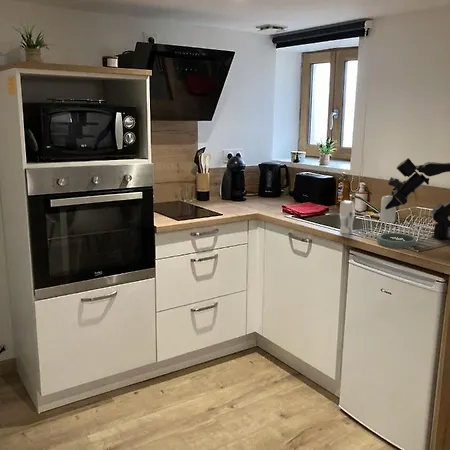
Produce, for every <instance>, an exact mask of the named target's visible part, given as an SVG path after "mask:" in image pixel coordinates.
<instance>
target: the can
mask: <svg viewBox="0 0 450 450" xmlns="http://www.w3.org/2000/svg"><path fill="white" fill-rule="evenodd" d="M392 196H393V195H391V194H384V195H382V198H381V200H380V201H381V202H380V203H381V204H380V221H381V222H382V223H386V224H387V223H388V224H389V223H390V224H391V223H394V222H395V221H396V211H397V206H396V207H393V208H390V209H387V210H386V209H385V207H386V206H387V205H388V203H389V202H390V201H391V200H392Z"/></svg>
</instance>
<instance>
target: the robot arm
mask: <svg viewBox="0 0 450 450" xmlns="http://www.w3.org/2000/svg"><path fill="white" fill-rule="evenodd" d="M396 170H398V172H399V173H400V174H401V175H402V176H404V177H405V178H406V177H407V178H408V179H406V180H403V181H401V180H400V179H399V178H397V177H395V178H394V177H390V178H389V180H388V182H387V185H388V186H390V187H391V186H392V188H391V194H390V195H393V196H392V200H391V201H390V202H389V203H388V205H387V206H386V207H385V209H386V210H387V209H390V208H393V207H396V208H397V207H399V206H402V205H403V206H404V205H406V204H407V203H408V197H409V196H410V195H411V194H412V193H415V192H416V189H418V188H419V187H421V186H422V185H423V184H424V183H425V184H426V185H429V184H430V177H433V176H437V175H438V176H439V175H440V174H443V173H449V172H450V162H445V163H444V162H437V161H436V162H434V161H432V162H431V161H428V162H425V163H423V164H420V165H419V164H418V165H415V164H414V162H412V160H411V159H410V158H406V159H405V160H402V161H401V162H400V163H399V164H398V165H397V166H396ZM418 172H419V173H418ZM430 214H431V218H432V219H433V220H434V222H436V224H434V229H433V235H430V236H431V238H434V239H438V240H441V241H444V240H449V239H450V219H449V217H450V200H449V201H448V202H446V203H442V202H439V203H438V204H437V205H435V206H434V207H433V209H432V210H431V213H430Z"/></svg>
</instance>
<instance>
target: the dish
mask: <svg viewBox="0 0 450 450" xmlns="http://www.w3.org/2000/svg"><path fill="white" fill-rule="evenodd" d="M390 237H396V238H397V237H398V238H403V239H404V240H405V241H403V240H396V239H392V238H390ZM417 239H418V238H417V237H416V236H414V235H410V234H407V233H403V232H402V233H401V232H400V233H399V232H384V233H381V234H378V235H377V243H378V245H381V246H384V247H387V248H393V249H394V248H395V249H407V248H406V247H410V248H413V247H412V246H414V247H416V246H417Z"/></svg>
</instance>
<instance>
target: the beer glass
mask: <svg viewBox="0 0 450 450" xmlns="http://www.w3.org/2000/svg"><path fill="white" fill-rule="evenodd" d="M355 209H356V207H355V201H352V200H342V201H340V205H339V219H340V229H339V233H340V234H341V235H342V234H343V235H352V234H353V223H354V219H355V213H356V211H355Z"/></svg>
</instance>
